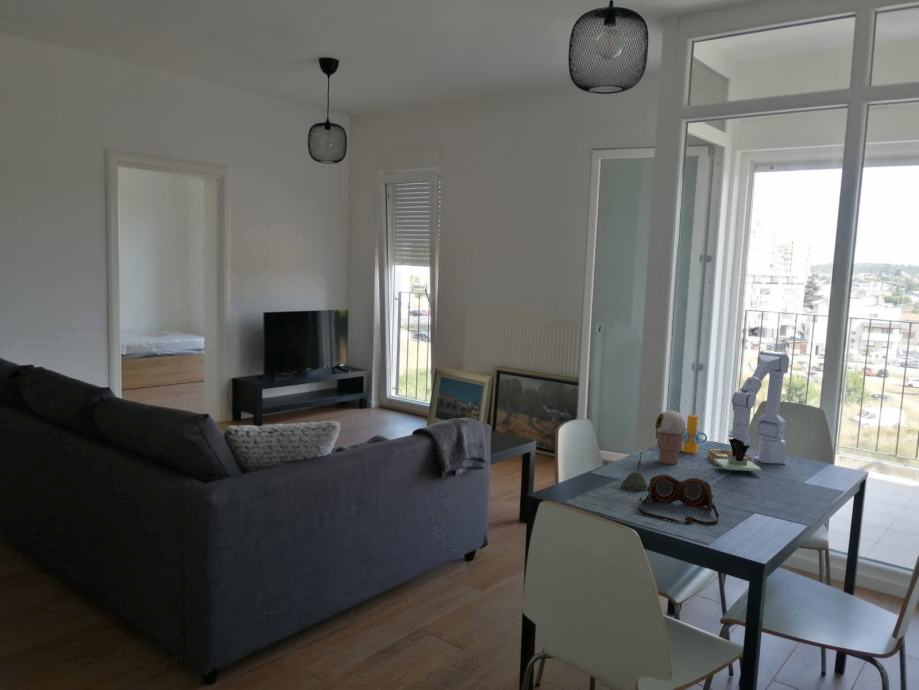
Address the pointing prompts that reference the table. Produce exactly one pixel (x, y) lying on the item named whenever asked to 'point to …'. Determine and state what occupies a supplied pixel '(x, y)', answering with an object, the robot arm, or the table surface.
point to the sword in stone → (635, 481)
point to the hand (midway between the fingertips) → (737, 459)
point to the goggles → (680, 495)
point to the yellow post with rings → (692, 435)
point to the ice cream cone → (669, 435)
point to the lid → (737, 464)
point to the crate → (722, 455)
